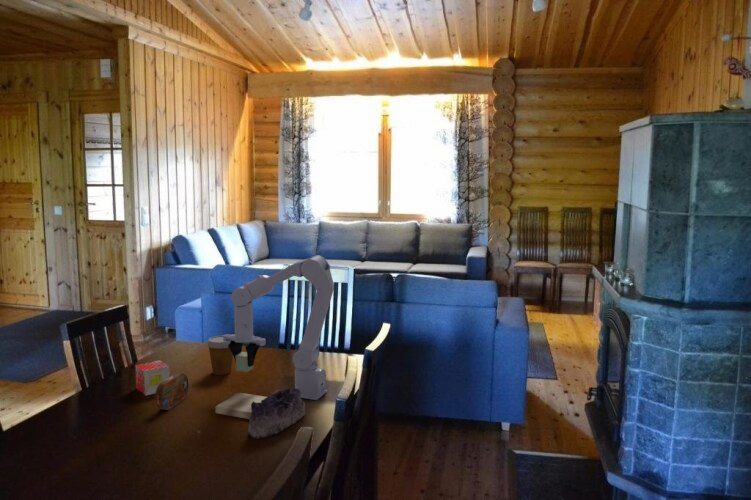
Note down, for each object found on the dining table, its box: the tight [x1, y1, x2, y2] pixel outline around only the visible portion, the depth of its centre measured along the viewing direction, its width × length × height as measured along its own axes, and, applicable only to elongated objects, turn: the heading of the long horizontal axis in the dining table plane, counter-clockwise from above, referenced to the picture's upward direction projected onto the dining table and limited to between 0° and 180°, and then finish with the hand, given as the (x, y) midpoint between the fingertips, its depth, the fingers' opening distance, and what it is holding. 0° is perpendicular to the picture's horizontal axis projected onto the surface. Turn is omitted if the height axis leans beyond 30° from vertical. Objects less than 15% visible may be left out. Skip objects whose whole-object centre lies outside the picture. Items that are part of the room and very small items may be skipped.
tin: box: [154, 373, 189, 411], centre depth 178 cm, size 15×3×8 cm, turn 168°
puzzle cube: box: [135, 360, 171, 396], centre depth 190 cm, size 8×8×8 cm
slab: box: [214, 392, 268, 420], centre depth 175 cm, size 12×12×2 cm
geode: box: [247, 387, 306, 440], centre depth 164 cm, size 20×12×10 cm, turn 158°
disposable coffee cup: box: [206, 335, 234, 376], centre depth 207 cm, size 10×10×12 cm
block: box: [235, 351, 255, 373], centre depth 189 cm, size 4×4×5 cm
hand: (244, 364), depth 189 cm, fingers closed on block, 4 cm apart
